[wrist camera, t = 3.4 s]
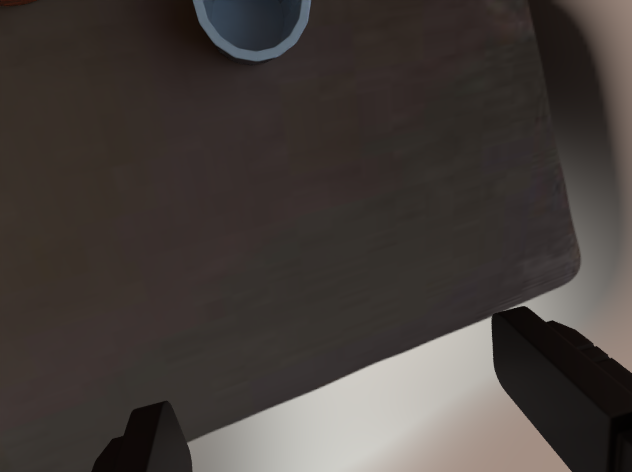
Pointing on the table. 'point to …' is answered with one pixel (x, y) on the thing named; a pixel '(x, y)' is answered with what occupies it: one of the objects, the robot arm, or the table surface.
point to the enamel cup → (252, 27)
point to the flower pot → (14, 2)
